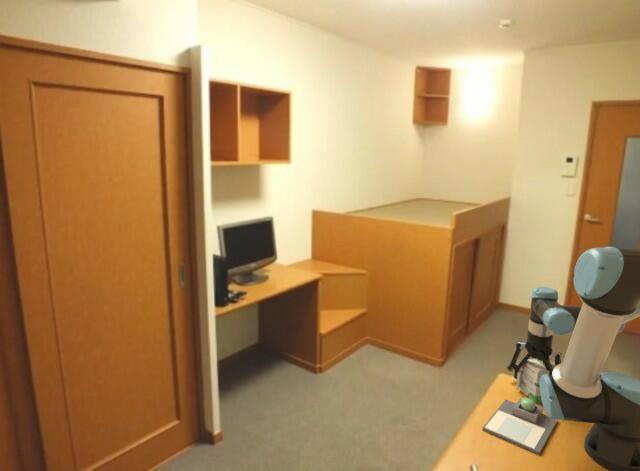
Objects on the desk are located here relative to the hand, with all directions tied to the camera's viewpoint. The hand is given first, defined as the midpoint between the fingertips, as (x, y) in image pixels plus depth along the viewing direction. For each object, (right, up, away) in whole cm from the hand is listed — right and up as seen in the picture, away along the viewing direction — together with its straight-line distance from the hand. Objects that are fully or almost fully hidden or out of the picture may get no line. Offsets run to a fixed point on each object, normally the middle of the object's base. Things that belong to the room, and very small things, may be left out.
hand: (533, 392), depth 148 cm
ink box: (0, -1, 0) cm, 1 cm away
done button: (-8, -1, -12) cm, 14 cm away
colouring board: (-12, -4, -16) cm, 20 cm away
